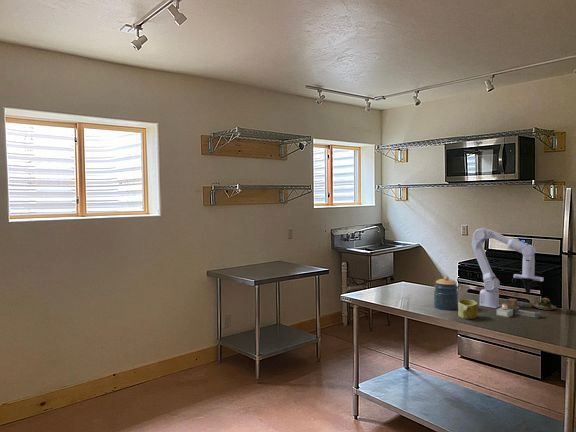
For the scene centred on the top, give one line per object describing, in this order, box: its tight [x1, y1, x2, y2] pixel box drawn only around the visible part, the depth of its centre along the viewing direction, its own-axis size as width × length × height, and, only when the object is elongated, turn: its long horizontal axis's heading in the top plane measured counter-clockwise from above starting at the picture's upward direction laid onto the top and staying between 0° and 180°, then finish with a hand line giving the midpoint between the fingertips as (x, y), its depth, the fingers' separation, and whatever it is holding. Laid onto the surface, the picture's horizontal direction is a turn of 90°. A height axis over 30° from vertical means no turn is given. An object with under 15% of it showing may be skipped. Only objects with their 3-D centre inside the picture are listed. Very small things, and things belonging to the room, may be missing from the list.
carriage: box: [506, 298, 520, 315], centre depth 241 cm, size 5×6×7 cm
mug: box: [457, 298, 479, 320], centre depth 233 cm, size 12×10×10 cm
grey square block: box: [495, 307, 514, 318], centre depth 237 cm, size 6×6×3 cm
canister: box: [433, 275, 460, 311], centre depth 253 cm, size 13×13×18 cm
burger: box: [531, 295, 558, 312], centre depth 250 cm, size 12×12×8 cm
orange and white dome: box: [501, 303, 508, 309], centre depth 236 cm, size 3×3×2 cm
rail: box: [500, 306, 542, 319], centre depth 238 cm, size 18×5×3 cm, turn 42°
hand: (527, 292), depth 244 cm, fingers closed
